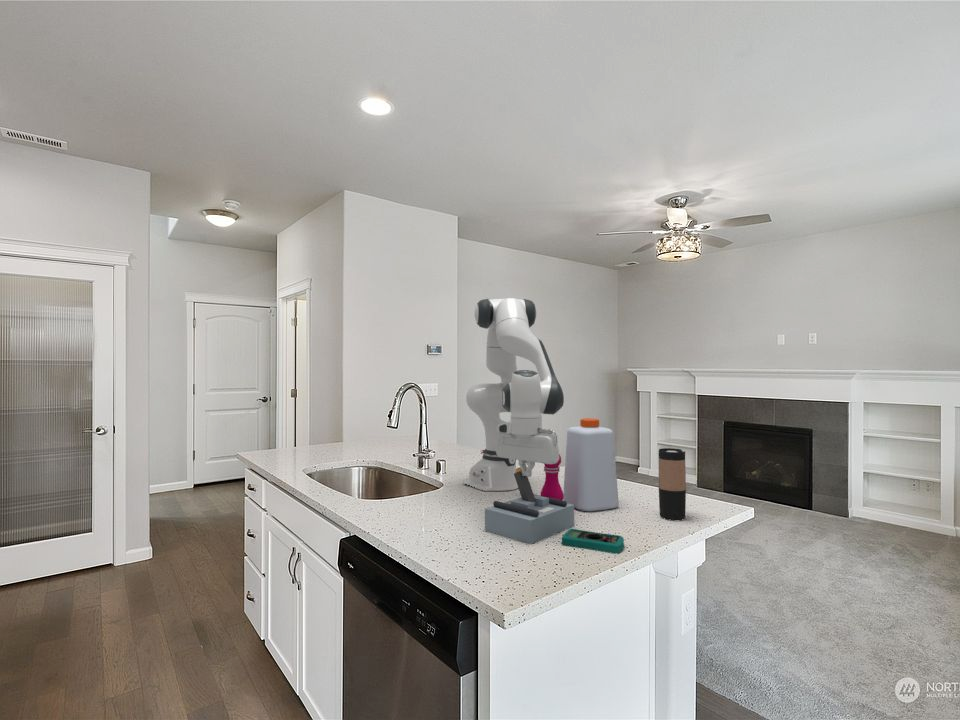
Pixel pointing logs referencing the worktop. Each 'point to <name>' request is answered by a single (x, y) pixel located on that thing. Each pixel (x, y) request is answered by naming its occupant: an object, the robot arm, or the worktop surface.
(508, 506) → the dark parallel rails
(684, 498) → the travel mug
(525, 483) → the breaker lever
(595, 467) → the plastic bottle
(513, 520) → the box
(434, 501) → the worktop surface
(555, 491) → the pepper mill
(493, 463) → the robot arm
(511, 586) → the worktop surface
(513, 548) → the worktop surface
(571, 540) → the digital multimeter
